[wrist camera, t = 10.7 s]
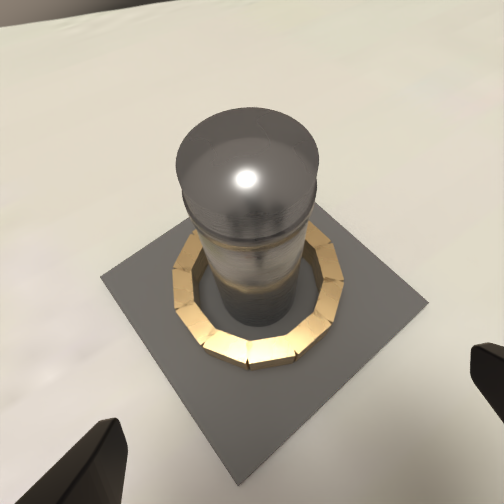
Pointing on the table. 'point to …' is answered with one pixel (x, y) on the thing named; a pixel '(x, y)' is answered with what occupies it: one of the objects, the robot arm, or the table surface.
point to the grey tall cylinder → (250, 205)
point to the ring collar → (269, 349)
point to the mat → (268, 379)
